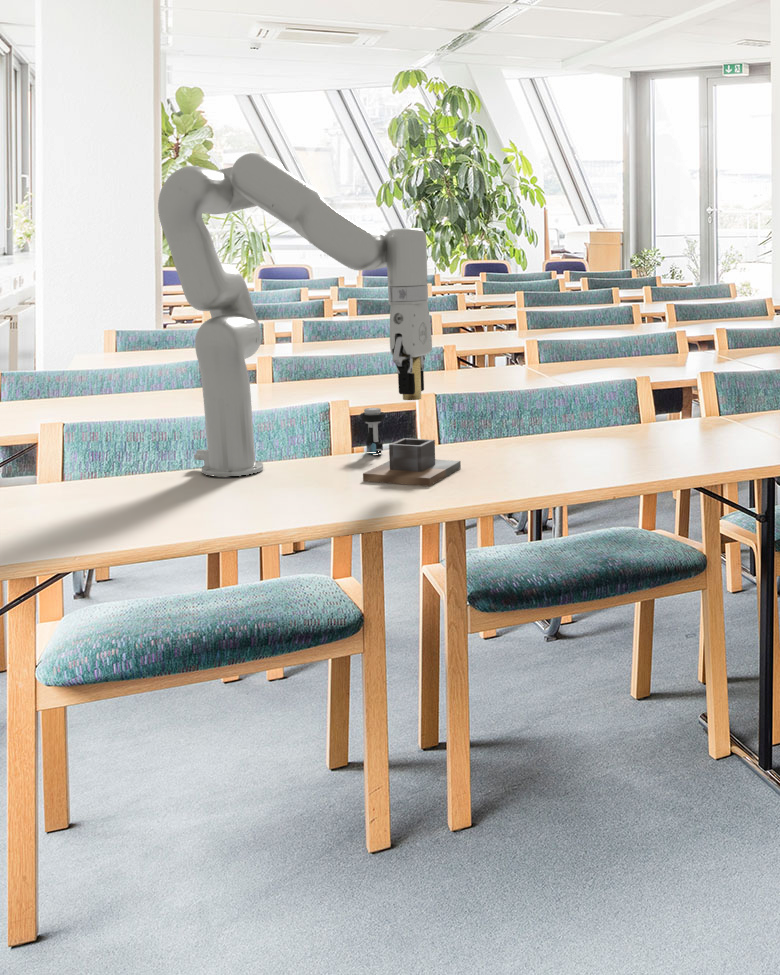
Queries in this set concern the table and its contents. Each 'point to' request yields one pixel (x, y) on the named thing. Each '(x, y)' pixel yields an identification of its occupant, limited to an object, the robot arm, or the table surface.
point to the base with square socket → (412, 464)
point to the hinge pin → (417, 374)
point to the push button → (373, 429)
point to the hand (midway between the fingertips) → (411, 391)
